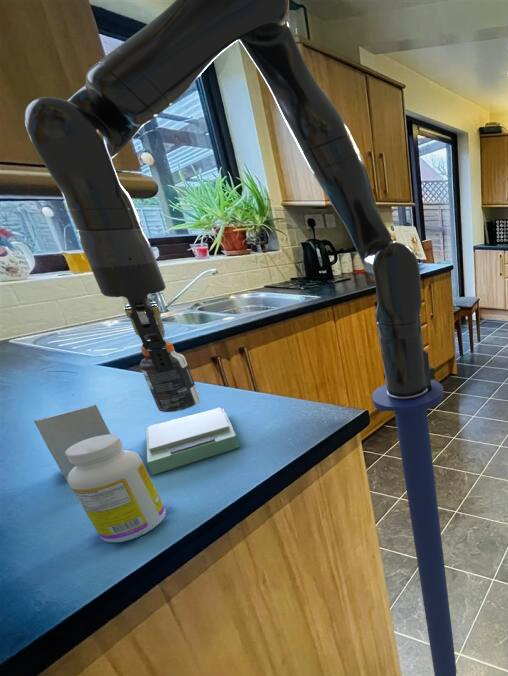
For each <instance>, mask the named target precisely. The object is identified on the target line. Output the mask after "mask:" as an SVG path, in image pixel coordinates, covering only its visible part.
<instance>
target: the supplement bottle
mask: <svg viewBox="0 0 508 676" xmlns="http://www.w3.org/2000/svg"><path fill="white" fill-rule="evenodd" d="M65 454H66V456H67V458H68V460H69V462H71V463H72V464H74V465H75V467H74V468H73V469H72V470H71V471H70V473H69V474H68V477H67V480H68V481H67V480H66V481H67V484H68V486H69V487H70V489H71V490H72V492H73V494H74V495H75V497H76V499H77V500H78V502H79V504H80V505H81V507H82V509H83V510H84V512H85V513H86V516H87V517H88V519H89V520H90V522H91V524H92V526H93V527H94V529H95V531H96V533H97V534H98V535H99V537H100V539H101V540H102V541H104V542H106V543H123V542H127V541H131V540H134V539H136V538H138V537H141V536H144V535H145V534H147V533H149V532H150V531H152V530H154V529H155V528H156V527H157V526H159V524H161V522H162V521H163V520H164V518H165V517H166V514H167V510H166V507H165V505H164V503H163V501H162V499H161V496H160V495H159V493H158V490H157V489H156V487H155V484H154V482H153V481H152V479H151V476H150V474H149V472H148V470H147V468H146V466H145V463H144V462H143V460H142V458H141V455H139V454H138V453H137V452H135V451H133V450H129V449H123V442H122V441H121V438H120V437H119V435H116V434H111V435H101V436H96V437H92V438H89V439H86V440H83V441H81V442H78V443H76V444H74V445H73V446H71V447H69V448H68V449H67V450H66V452H65Z"/></svg>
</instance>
